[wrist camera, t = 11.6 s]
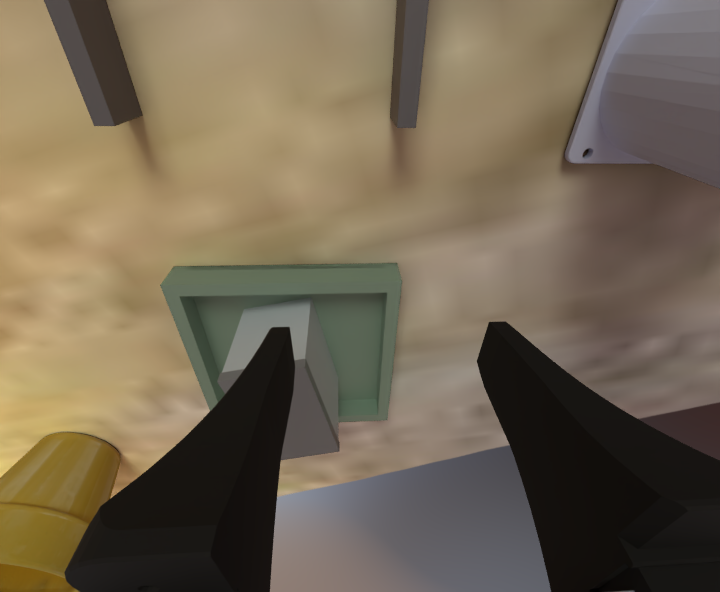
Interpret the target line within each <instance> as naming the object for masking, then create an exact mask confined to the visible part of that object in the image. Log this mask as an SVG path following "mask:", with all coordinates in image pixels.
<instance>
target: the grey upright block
mask: <svg viewBox="0 0 720 592" xmlns="http://www.w3.org/2000/svg"><path fill="white" fill-rule="evenodd" d="M272 327H290V333H291V340H292V347H293V354H294V361H295V377H294V390H293V397H292V402H291V408H290V413H289V418H288V423H287V428H286V434H285V439H284V444H283V449H282V455H281V460H285V459H292V458H299V457H305V456H312V455H318V454H325V453H332V452H338V451H339V440H338V376H337V373H336V370H335V367H334V364H333V361H332V358H331V355H330V352H329V349H328V346H327V343H326V340H325V337H324V334H323V331H322V328H321V325H320V322H319V319H318V316H317V313H316V310H315V307H314V304H313V301H312V298H311V297H309V298H304V299H298V300H293V301H287V302H282V303H276V304H271V305H265V306H260V307H254V308H248V309H244V311H243V313H242V316H241V319H240V322H239V325H238V328H237V331H236V334H235V336H234V339H233V342H232V345H231V348H230V351H229V354H228V357H227V359H226V362H225V365H224V368H223V371H222V373H220V375H219V378H218V381H217V383H218V384H219V386H220V387H221V389H222V390H223V392H224V393H225V394H226V393H227V391H228V390H229V389H230V387H231V386H232V385H233V384H234V382H235V381H236V380H237V378H238V377H239V376H240V375H241V373H242V372H243V370H244V369H245V368H246V366H247V365H248V363H249V362H250V360H251V359H252V357H253V356H254V354H255V353H256V351H257V350H258V348H259V347H260V345H261V343H262V342H263V340H264V338H265V337H266V335H267V333H268V332H269V330H270V329H271V328H272Z"/></svg>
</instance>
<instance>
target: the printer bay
mask: <svg viewBox="0 0 720 592" xmlns="http://www.w3.org/2000/svg"><path fill="white" fill-rule="evenodd" d="M44 2H45V4H46V7H47V9H48V12H49V14H50V17H51V19H52V21H53V24H54V26H55V29H56V31H57V34H58V36H59V39H60V41H61V44H62V46H63V49H64V51H65V54H66V56H67V59H68V61H69V64H70V66H71V69H72V71H73V74H74V76H75V79H76V81H77V84H78V86H79V89H80V91H81V94H82V96H83V99H84V101H85V104H86V106H87V109H88V111H89V114H90V116H91V119H92V121H93V124H94V126H116V125H119V124H121V123H124V122H127V121H129V120H132V119H135V118H137V117H140V116H143V115H142V112H141V109H140V106H139V103H138V100H137V97H136V94H135V90H134V87H133V84H132V81H131V78H130V75H129V72H128V69H127V66H126V62H125V59H124V56H123V53H122V50H121V47H120V44H119V41H118V37H117V34H116V31H115V28H114V25H113V22H112V19H111V16H110V13H109V9H108V6H107V3H106V0H44ZM428 3H429V0H397V8H396V25H395V41H394V58H393V75H392V91H391V108H390V118H391V120H392V121H393V123H394V124H395V125H396V127H397V128H416V121H417V111H418V101H419V92H420V82H421V72H422V62H423V52H424V42H425V33H426V23H427V13H428Z"/></svg>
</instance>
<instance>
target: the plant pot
mask: <svg viewBox="0 0 720 592" xmlns="http://www.w3.org/2000/svg"><path fill="white" fill-rule="evenodd" d="M119 465H120V454H119V453H118V451H117V450H116V449H115V448H114V447H113V446H111V445H110V444H108V443H107V442H105V441H103V440H101V439H98V438H96V437H93V436H89V435H85V434H79V433H70V432H63V433H55V434H51V435H48V436H46V437H44V438H43V439H42V440H40V441H39V442H38V443H37V444H36V445H35V446H34V447H33V448H32V449H31V450H30V451H29V452H28V453H27V454H26V455H24V456H23V457H22V458H21V459H20V460H19V461H18V462H17V463H16V464H15V465H14V466H12V467H11V468H10V469H9V470H8V471H7V472H6V473H5V474H4V475H3V476H2V477H1V478H0V592H79V591H78V590H76V589H75V588H73V587H72V586H71V585H70V584H69V583H68V582H67V581H66V579H65V573H64V572H65V570H66V568H67V566H68V564H69V562H70V560H71V558H72V556H73V554H74V552H75V550H76V548H77V546H78V545H79V543H80V541H81V539H82V537H83V535H84V533H85V531H86V529H87V527H88V526H89V524H90V522H91V521H92V519H93V518H94V516H95V514H96V513H97V511H98V509H99V508H100V506H101V505H103V504H104V503H105V502H107V501H108V500H110V497H111V493H112V490H113V486H114V483H115V479H116V476H117V472H118V469H119Z"/></svg>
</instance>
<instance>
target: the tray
mask: <svg viewBox="0 0 720 592" xmlns="http://www.w3.org/2000/svg"><path fill="white" fill-rule="evenodd" d="M401 285H402V280H401V276H400V272H399V269H398V265H397V263H382V264H313V265H244V266H175V267H173V268H172V270H171V271H170V273H169V274H168V275H167V277H166V278H165V280H164V281H163V282H162V284H161V285H160V286H161V288H162V291H163V293H164V296H165V298H166V301H167V303H168V306H169V308H170V311H171V313H172V316H173V318H174V321H175V323H176V326H177V329H178V331H179V334H180V336H181V339H182V341H183V344H184V346H185V349H186V351H187V354H188V356H189V359H190V361H191V364H192V366H193V369H194V371H195V374H196V376H197V379H198V381H199V384H200V386H201V389H202V392H203V394H204V397H205V399H206V402H207V404H208V407H209V409H210V411H211V410H212V409H213V408H214V407H215V405H216V404H217V403H218V402H219V401H220V400H221V399H222V397H223V396H224V395H225V393H224V392H223V390H222V389H221V387H220V386H219V384H218V383H217V381H218V378H219V375H220V373H222V371H223V368H224V365H225V362H226V359H227V357H228V354H229V351H230V348H231V345H232V342H233V339H234V336H235V334H236V331H237V328H238V325H239V322H240V319H241V316H242V313H243V311H244V309H248V308H254V307H260V306H265V305H271V304H276V303H282V302H287V301H293V300H298V299H304V298H309V297H311V298H312V301H313V304H314V307H315V310H316V313H317V316H318V319H319V322H320V325H321V328H322V331H323V334H324V337H325V340H326V343H327V346H328V349H329V352H330V355H331V358H332V361H333V364H334V367H335V370H336V373H337V376H338V422H355V421H380V420H387V418H388V409H389V399H390V390H391V380H392V371H393V361H394V352H395V342H396V333H397V323H398V313H399V304H400V294H401Z"/></svg>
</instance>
